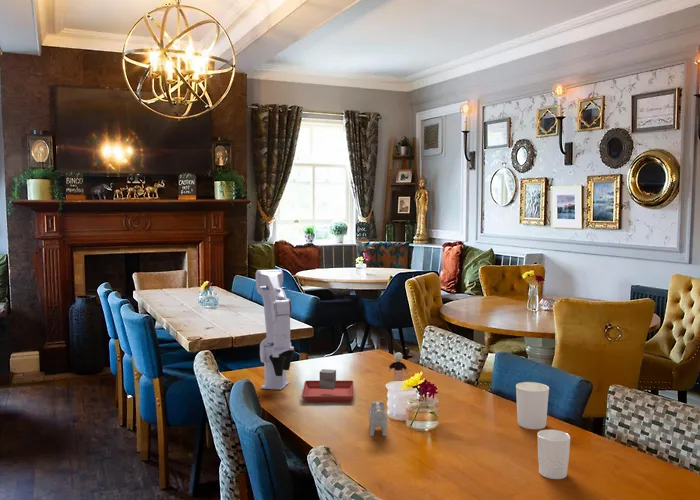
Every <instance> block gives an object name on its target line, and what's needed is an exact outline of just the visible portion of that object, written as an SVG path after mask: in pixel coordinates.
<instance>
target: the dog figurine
mask: <svg viewBox="0 0 700 500" xmlns="http://www.w3.org/2000/svg"><path fill="white" fill-rule="evenodd" d="M385 410H386V405H385V403H384V401H382V400H380V401H376V402H375V401H372V402H371V404H370V407H369V408H368V422H369V424H368V426H369V427H368V428H369V436H370V437H374V436H375V432H376V431H375V430H376V428H378V427H380V428H381V432H382V433H381V434H382V436H383V437H385V436H386V437H387V435H388V434H387V432H388V431H387V428H388V427H387V426H388V416H387V413H386V411H385Z"/></svg>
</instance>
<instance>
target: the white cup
mask: <svg viewBox="0 0 700 500" xmlns="http://www.w3.org/2000/svg"><path fill="white" fill-rule="evenodd" d="M536 434H537V435H536V436H537V458H538V459H537V462H538V473H539V474H540V475H541V476H542V477H544V478H547V479H550V480H562V479H565V478H566V477H567V476H568V467H569V460H570V447H571V446H570V445H571V436H570V435H569V433H567V432H565V431H561V430H558V429H541V430H539V431H538V432H537V433H536Z"/></svg>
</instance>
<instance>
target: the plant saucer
mask: <svg viewBox="0 0 700 500" xmlns="http://www.w3.org/2000/svg"><path fill="white" fill-rule="evenodd" d="M354 382H355V381H354V380H336V387H335V388H334V389H333V390H331V389H320V380H305V381H304V383H303V389H302V393H301V397H302V398H303V400H304V401H305V402H307V403H327V402H328V403H329V402H330V403H335V402H336V403H340V402H341V403H345V402H347V403H348V402H351V400H352V399H353V398H354V396H355V387H354V386H355V385H354V384H355V383H354Z"/></svg>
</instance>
